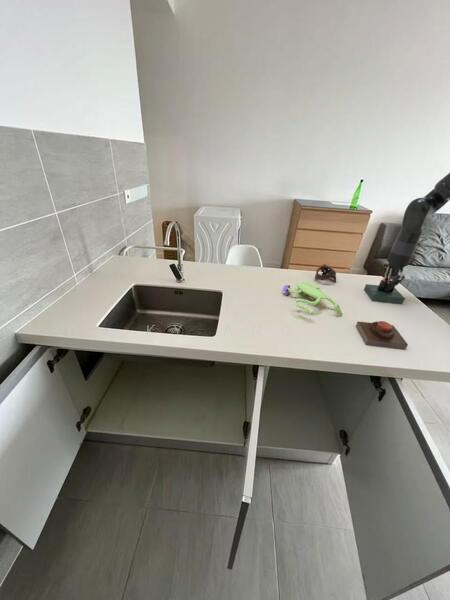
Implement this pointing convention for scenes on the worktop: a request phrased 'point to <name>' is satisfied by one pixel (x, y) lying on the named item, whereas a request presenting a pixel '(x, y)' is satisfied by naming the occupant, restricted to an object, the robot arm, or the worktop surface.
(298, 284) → the figurine
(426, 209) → the robot arm
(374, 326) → the button block
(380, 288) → the handle
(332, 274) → the dark brown dome
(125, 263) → the worktop surface
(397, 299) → the panel
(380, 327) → the button
